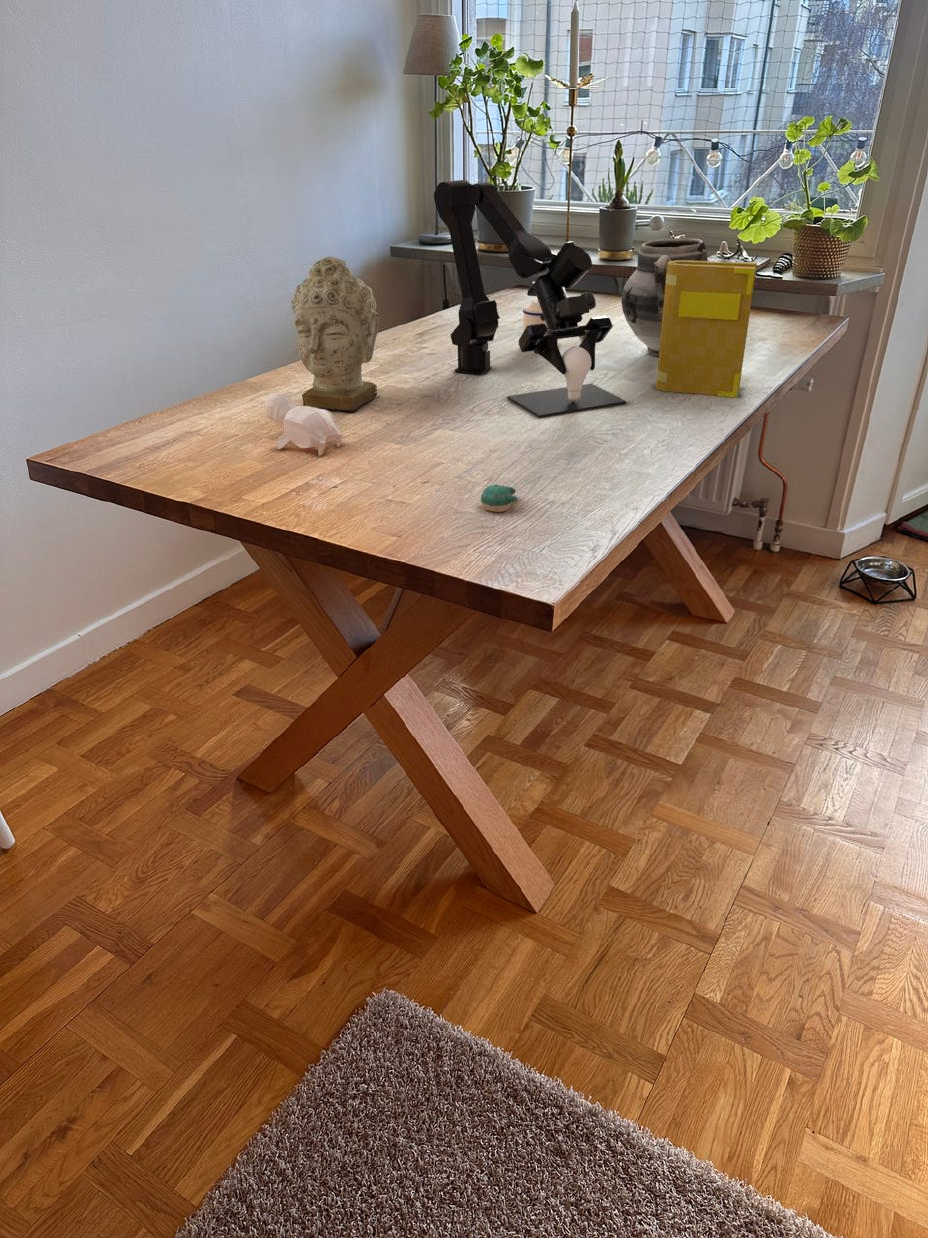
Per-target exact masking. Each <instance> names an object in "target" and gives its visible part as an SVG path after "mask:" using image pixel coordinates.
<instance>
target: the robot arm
mask: <svg viewBox="0 0 928 1238" xmlns="http://www.w3.org/2000/svg"><path fill="white" fill-rule="evenodd" d="M433 200H434V204H435V207H436V211H437V214H438V216H439V218H440V220H441V221H442V222H443V223H444V225H445V226H446V227H447V228H448V232H449V237H450V242H451V246H452V247H451V248H452V252H453V258H454V263H455V267H456V273H457V279H458V283H459V287H460V293H461V302H460V306H459V309H458V324H457V326H456V327H455V328H454V330H453V331H452V332H451V333H450V334H449V335H450V340H451V343H452V345H453V346H457V367H456V368H455V369H454V372H455V373H462V374H471V375H482V374H483V373H485V372H487V371H488V370H490V369H492V365H491V349H490V348H489V342H493V341H494V339H495V335H496V331H497V329H498V328H499V319H500V318H501V317H500V315H499V312H498V304H497V302H496V300H495V299H492V300H491V299H490V298H489V297H488V296H487V294H486V293H485V289H484V283H483V278H482V272H481V268H480V261H479V256H478V251H477V246H476V241H475V235H474V229H473V219H474V216H475V213H476V208H477V209H478V210H479V212H480V213H481V215H482V216H483V217H484V219H485V220H486V221H487V222H488V224H489V225H490V227H491V228H492V229H493V231H494V232H495V233H496V235H497V237H498V238H499V239H500V240H501V241H502V243H503V244H504V245H505V247H506V249H507V254H508V256H507V257H508V260H509V262H510V264H511V266H512V268H513V270H514V272H515V274H516V275H517V276H518V277H519V278H521V279H530V278H534V277H538V278H537V279H536V280H535V281H532V282H530V285H529V288H528V289H527V292H526V295H527V296H528V297H536V298H537V301H538V302H539V304H540V307H541V310H542V315H541V316H540V318H541V320H542V321H546V324H547V327H548V328H547V327H546V325H545V324H543V323H542V324H533V325H527V327H526V328H525V330H524V332H523V331H522V333H521V335H520V337H519V339H518V346H519V349H520V352H521V353H528V352H529V353H530V352H533V353H534V354H535V355H539V356H541V358H543V359H544V360H545V361H547V362H548V363H549V364H551V365H552V366H553V367H554V368H555V370H558V372H559V373H560V374H561V375H562V376H563V375H564V374H565V373H566V368H565V364H564V361H563V359H562V353H561V351H560V348H559V346H558V345H559V343H558V344H557V339H558V340H563V339H569V338H570V339H573V338H578V337H579V339H580V342H581V343H580V344H579V345H578V347H581V348H583V349H585V350H586V351H587V352H588V353H589V355H590V357H591V362H592V363H591V368H590V370H589V371H594V370H595V368H596V345H597V344H598V343H601V342H603V340H604V339H605V338H606V337H607V335H608V334H609V333H610V331H611V330H612V328H613V327H614V326H613V323H612V320H611V318H610V317H609V316H607V315H602V316H593V317H590V318H589V320H588V321H587V322H586V324H585V325H579V324H578V323H581V322H582V320H583V319H584V318H583V315H585V314H589V313H590V311H591V310H593V309H595V308H596V305H597V303H596V298H595V295H594V293H593V291H584V292H583V293H581V294H580V295H576V296H575V295H574V296H568V294H567V291H566V289H572V288H574V286H575V285H577V284H578V282H579V281H580V280H581V279H582V278H583V277H584V276H586V274H587V273H588V272H589V271H590V270H592V266H593V261H592V258H591V255H590V254H589V253H588V252H586V251H585V250H584V249H583V248H581V247H580V246H578V245H576V244H575V242H574V241H567V242H565V243H564V244H563V245H562V246H561V248H560V250H559V251H558V252H557V253H555V252H553V251H552V249H550V247H549V246H547V245H546V244H545V243H544V241H542V240H541V239H540V238H539V237H537V236H535V235H533V234H531V233H529V231H527V230H526V229H525V227H524V226H523V224H522V223H521V222H520V221H519V219H518V218H517V217H516V215H515V214H514V213H513V211H512V210H511V209H510V207H509V206H508V205H507V204H506V202H505V201H504V199H503V198H502V197H501V195H500V194H499V193H498V191H497V187H496V186H495V184H493V183H492V182H490V181H485V182H476V183H473V184H472V183H470V182H469V181H468V180H466V179H459V180H449V181H441V182H439V183H438V184H437V186H436V187H435V191H434V192H433Z"/></svg>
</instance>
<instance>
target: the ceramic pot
mask: <svg viewBox="0 0 928 1238" xmlns="http://www.w3.org/2000/svg"><path fill="white" fill-rule="evenodd" d="M676 260H687V261H709V259H708V249H707V247H706V245H705V241H704V240H702V239H700V238H694V237H692V238H691V237H690V238H685V237H684V238H683V237H682V238H665V239H653V240H649V241H646V242H643V243H642V244H641V246H640V248H639V251H638V254H637V266H636V269H635V271H633V273H632V274H631V275H630V276H629V278H628V279H627V281H626V283H625V285H624V286H623V289H622V293H621V301H620V302H621V303H620V304H621V309H622V313H623V315H624V318H625V320H626V322H627V324H628V326H629V328H630V329H631V330H632V332H633V334H634V336H635V337H636V338H637V339H638V340H639V341H640V342H641V343H643V344H644V345H645V346H646V347H647V352H648V354H649V355H650V356H655V357H659V348H660V338H661V327H662V317H663V306H664V295H665V285H666V274H667V264H668V262H669V261H676Z"/></svg>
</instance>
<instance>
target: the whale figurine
mask: <svg viewBox="0 0 928 1238" xmlns="http://www.w3.org/2000/svg"><path fill="white" fill-rule="evenodd" d="M516 491H517V490H516V489H515V488H513V486H512V487H511V486H506V485H501V484H490V485H488V486H486V487H485V488H484V490H483V491H482V492H481V495H480V496H481V497H480V504H481V507H482V508H483V510H486V511H488V512H489V511H490V512H495V513H502V512H506V511H508V510H509V509H510V508H511V506H512V505H513V504H516V503H517V502H518V497H517V496H515V495H516V493H517V492H516Z"/></svg>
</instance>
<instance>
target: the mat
mask: <svg viewBox="0 0 928 1238" xmlns="http://www.w3.org/2000/svg"><path fill="white" fill-rule="evenodd" d="M507 399H508V400H509V401H511V402H513V403H514V404H516V405H517V406H519V407H520V408H522V409H524V410H526V411H527V412H529V413H530V414H532V415H533V416H536V417H537V418H545V417H551V416H558V415H563V414H570V413H576V412H582V411H589V410H595V409H601V408H607V407H613V406H619V405H626V404H627V400H625V399H623V398H621V397H619V396H617V395H615V394H612V393H610V392H609V391H607V390H605V389H603V388H600V387H599V386H596V385H595V384H593V383H586V384H583V387H582V390H581V395H580V399H579V400H578V401H576V402H571V401H570V400H569V399H568V389H567V386H566V387H565V386H564V387H560V388H552V389H546V390H539V391H533V392H526V393H519V394H512V395H507Z"/></svg>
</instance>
